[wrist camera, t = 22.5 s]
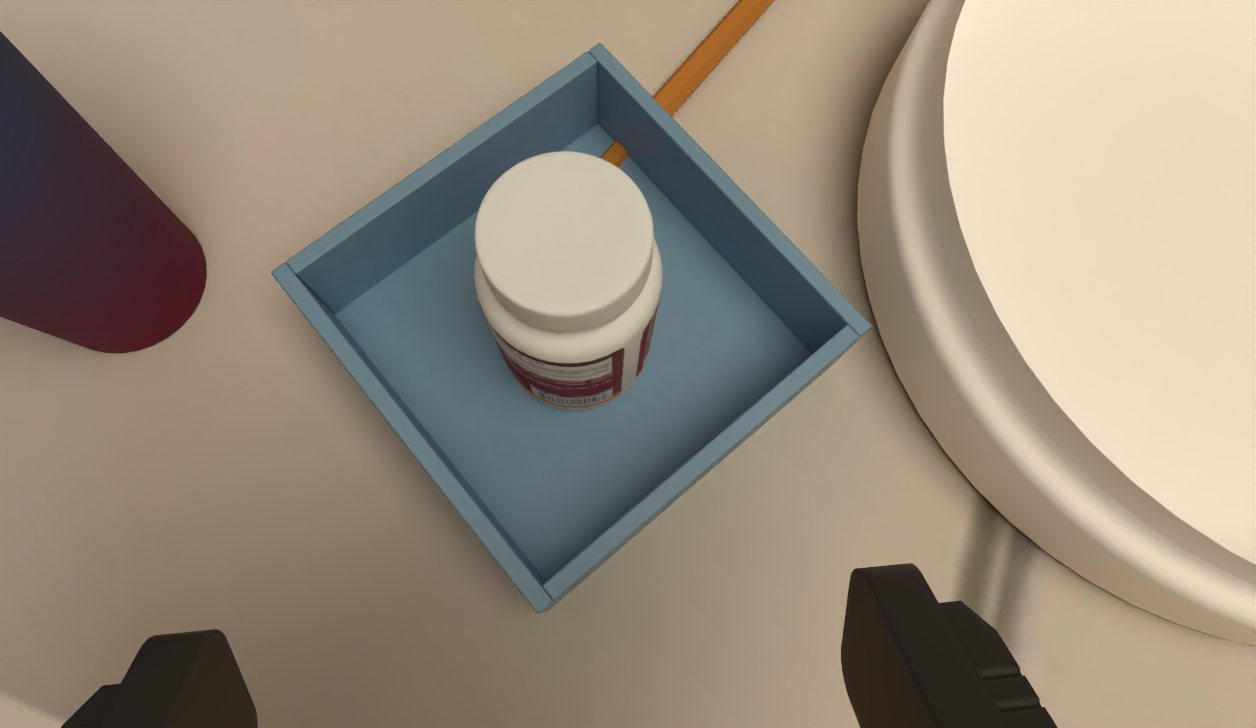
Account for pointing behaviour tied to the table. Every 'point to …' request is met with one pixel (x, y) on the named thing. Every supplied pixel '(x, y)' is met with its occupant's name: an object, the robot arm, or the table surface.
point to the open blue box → (479, 377)
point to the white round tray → (1082, 280)
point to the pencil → (699, 64)
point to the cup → (83, 228)
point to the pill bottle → (568, 277)
